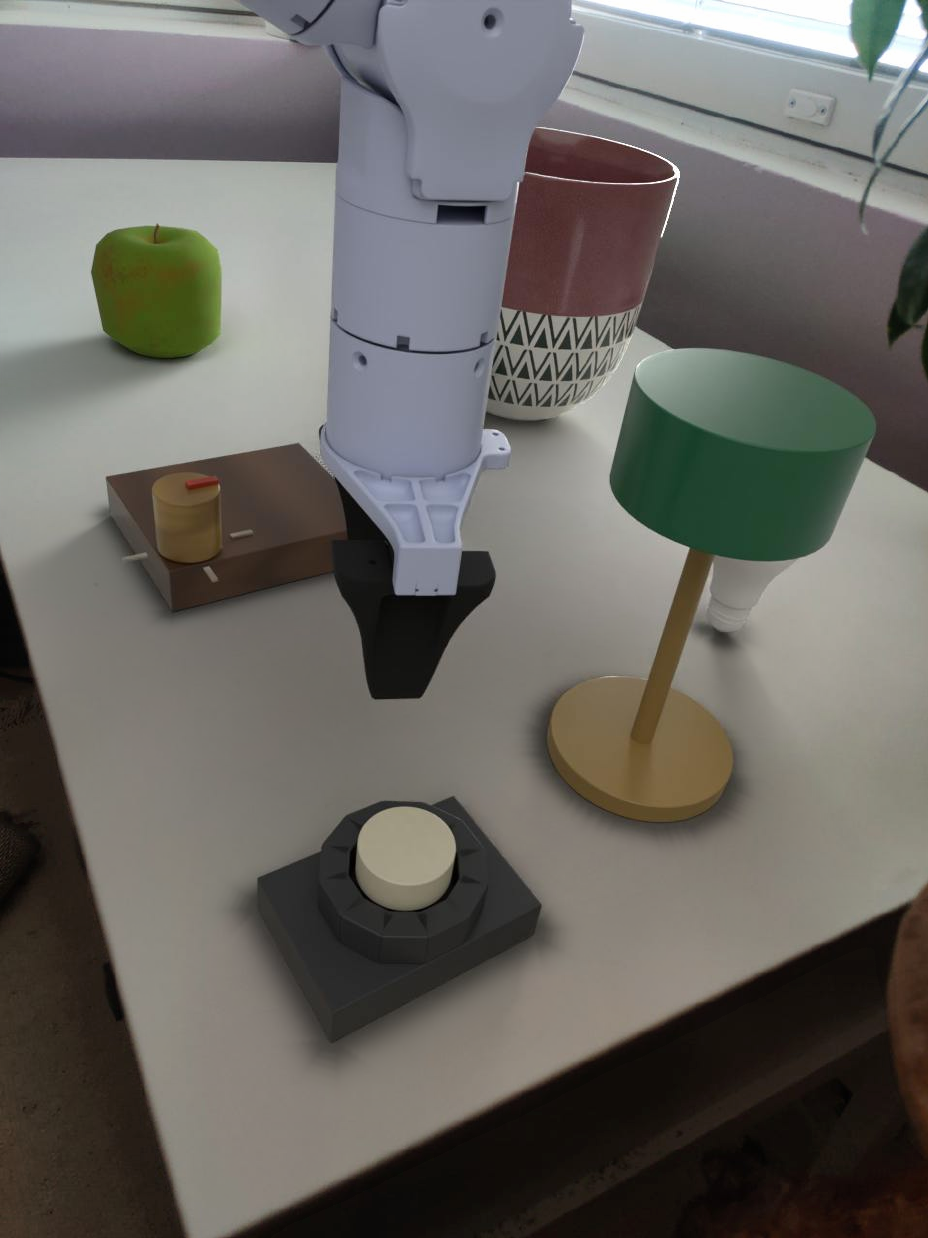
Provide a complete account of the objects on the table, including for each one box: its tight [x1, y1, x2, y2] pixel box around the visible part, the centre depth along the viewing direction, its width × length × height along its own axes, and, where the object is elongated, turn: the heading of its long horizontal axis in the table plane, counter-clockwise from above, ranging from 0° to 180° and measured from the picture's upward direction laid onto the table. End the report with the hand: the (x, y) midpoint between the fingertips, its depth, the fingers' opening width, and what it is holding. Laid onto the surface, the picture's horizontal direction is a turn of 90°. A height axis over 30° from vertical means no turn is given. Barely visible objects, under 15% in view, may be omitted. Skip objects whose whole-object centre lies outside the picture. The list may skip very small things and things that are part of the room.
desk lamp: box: [546, 347, 877, 823], centre depth 45 cm, size 10×10×21 cm
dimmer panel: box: [105, 442, 348, 612], centre depth 61 cm, size 16×14×3 cm
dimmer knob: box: [152, 472, 222, 563], centre depth 55 cm, size 4×4×4 cm
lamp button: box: [355, 807, 456, 911], centre depth 38 cm, size 4×4×2 cm
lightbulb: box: [705, 555, 800, 633], centre depth 58 cm, size 6×6×11 cm
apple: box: [90, 223, 223, 359], centre depth 84 cm, size 11×11×11 cm
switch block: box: [256, 795, 543, 1043], centre depth 40 cm, size 10×7×4 cm
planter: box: [486, 126, 680, 422], centre depth 79 cm, size 20×20×21 cm
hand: (386, 633), depth 40 cm, fingers open, 7 cm apart
